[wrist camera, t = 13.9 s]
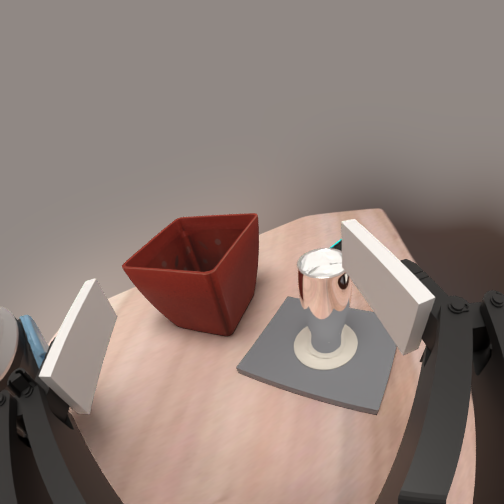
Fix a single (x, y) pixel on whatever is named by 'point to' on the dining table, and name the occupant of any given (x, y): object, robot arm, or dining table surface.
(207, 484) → the dining table surface
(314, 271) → the beer glass
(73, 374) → the robot arm
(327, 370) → the serving board
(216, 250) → the plant pot
